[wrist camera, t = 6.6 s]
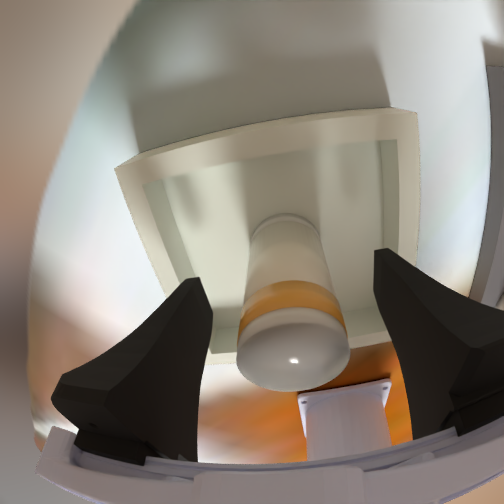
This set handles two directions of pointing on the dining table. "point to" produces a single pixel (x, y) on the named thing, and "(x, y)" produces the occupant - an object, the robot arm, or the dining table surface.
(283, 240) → the cylinder
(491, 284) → the fuse holder
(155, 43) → the dining table surface
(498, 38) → the dining table surface
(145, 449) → the robot arm
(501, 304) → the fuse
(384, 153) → the tray
